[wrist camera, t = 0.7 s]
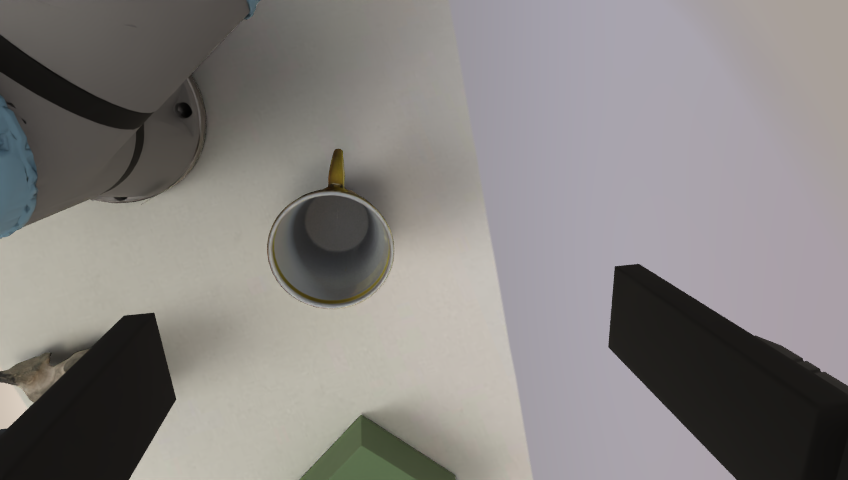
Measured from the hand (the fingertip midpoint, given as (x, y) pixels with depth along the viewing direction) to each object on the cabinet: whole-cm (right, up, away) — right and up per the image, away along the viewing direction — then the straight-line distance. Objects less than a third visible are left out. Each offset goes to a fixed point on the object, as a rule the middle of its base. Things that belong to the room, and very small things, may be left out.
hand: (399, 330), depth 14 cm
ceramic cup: (-8, +6, +33) cm, 35 cm away
